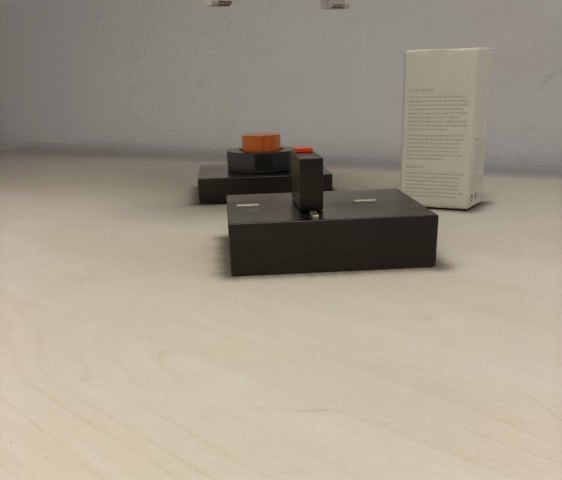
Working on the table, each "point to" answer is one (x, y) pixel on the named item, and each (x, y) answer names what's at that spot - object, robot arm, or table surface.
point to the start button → (261, 142)
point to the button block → (250, 175)
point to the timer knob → (307, 178)
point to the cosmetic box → (445, 125)
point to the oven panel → (330, 232)
